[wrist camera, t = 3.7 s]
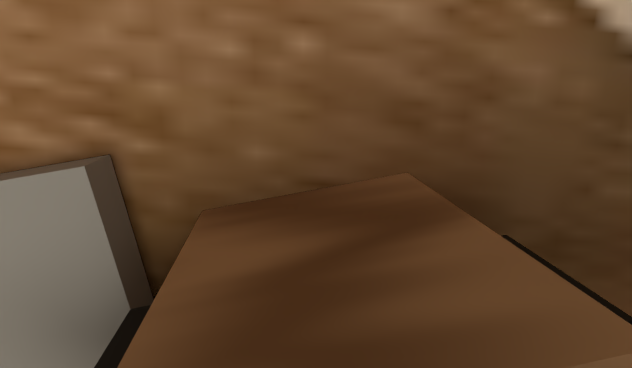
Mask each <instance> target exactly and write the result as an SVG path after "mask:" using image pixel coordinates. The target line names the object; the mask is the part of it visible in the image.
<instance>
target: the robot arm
mask: <svg viewBox="0 0 632 368" xmlns="http://www.w3.org/2000/svg"><path fill="white" fill-rule="evenodd" d="M502 237H503V238H504V239H506V240H507V241H509V242H510V243H512V244H513V245H515V246H516V247H518V248H519V249H521V250H522V251H524V252H525V253H527V254H528V255H529V256H531V257H532V258H534V259H535V260H537V261H538V262H540V263H541V264H543V265H544V266H546V267H547V268H549V269H550V270H552V271H553V272H555V273H556V274H557V275H559V276H560V277H562V278H563V279H565V280H566V281H568V282H569V283H571V284H572V285H574V286H575V287H577V288H578V289H580V290H581V291H582V292H584V293H585V294H587V295H588V296H590V297H591V298H593V299H594V300H596V301H597V302H599V303H600V304H602V305H603V306H605V307H606V308H607V309H609V310H610V311H612V312H613V313H615V314H616V315H618V316H619V317H621V318H622V319H624V320H625V321H627V322H628V323H630V324H631V325H632V317H631V316H629V315H628V314H626V313H625V312H623V311H622V310H620V309H619V308H617V307H616V306H614V305H612V304H611V303H609V302H608V301H606V300H605V299H603V298H602V297H600V296H599V295H597V294H596V293H594V292H593V291H591V290H590V289H588V288H587V287H585V286H584V285H582V284H581V283H579V282H577V281H576V280H574V279H573V278H571V277H570V276H568V275H567V274H565V273H564V272H562V271H561V270H559V269H558V268H556V267H555V266H553V265H552V264H550V263H549V262H547V261H545V260H544V259H542V258H541V257H539V256H538V255H536V254H535V253H533V252H532V251H530V250H529V249H527V248H526V247H524V246H523V245H521V244H520V243H518V242H517V241H515V240H513V239H512V238H510V237H509V236H507V235H503V236H502ZM150 306H151V305H148V306H143V307H138V308H133V309H131V310H130V311H129V312H128V314H127V315H126V317H125V319H124V320H123V322H122V323H121V325H120V327H119V328H118V330H117V331H116V333H115V335H114V336H113V338H112V340H111V341H110V343H109V344H108V346H107V348H106V349H105V351H104V352H103V354H102V356H101V357H100V359H99V360H98V362H97V364H96V365H95V367H94V368H117V367H118V365H119V364H120V362H121V360H122V358H123V356H124V354H125V353H126V351H127V349H128V347H129V345H130V343H131V341H132V340H133V338H134V336H135V334H136V332H137V330H138V329H139V327H140V325H141V323H142V321H143V319H144V318H145V316H146V314H147V312H148V310H149V308H150Z"/></svg>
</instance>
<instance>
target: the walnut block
mask: <svg viewBox="0 0 632 368" xmlns="http://www.w3.org/2000/svg"><path fill="white" fill-rule="evenodd" d="M117 368H632V325H631V324H630V323H628V322H627V321H625V320H624V319H622V318H621V317H619V316H618V315H616V314H615V313H613V312H612V311H610V310H609V309H607V308H606V307H605V306H603V305H602V304H600V303H599V302H597V301H596V300H594V299H593V298H591V297H590V296H588V295H587V294H585V293H584V292H582V291H581V290H580V289H578V288H577V287H575V286H574V285H572V284H571V283H569V282H568V281H566V280H565V279H563V278H562V277H560V276H559V275H557V274H556V273H555V272H553V271H552V270H550V269H549V268H547V267H546V266H544V265H543V264H541V263H540V262H538V261H537V260H535V259H534V258H532V257H531V256H529V255H528V254H527V253H525V252H524V251H522V250H521V249H519V248H518V247H516V246H515V245H513V244H512V243H510V242H509V241H507V240H506V239H504V238H503V237H502V236H500V235H499V234H497V233H496V232H494V231H493V230H491V229H490V228H488V227H487V226H485V225H484V224H482V223H481V222H479V221H478V220H476V219H475V218H474V217H472V216H471V215H469V214H468V213H466V212H465V211H463V210H462V209H460V208H459V207H457V206H456V205H454V204H453V203H451V202H450V201H449V200H447V199H446V198H444V197H443V196H441V195H440V194H438V193H437V192H435V191H434V190H432V189H431V188H429V187H428V186H426V185H425V184H424V183H422V182H421V181H419V180H418V179H416V178H415V177H413V176H412V175H410V174H409V173H402V174H397V175H392V176H386V177H381V178H375V179H370V180H365V181H359V182H354V183H348V184H343V185H338V186H332V187H327V188H321V189H316V190H311V191H305V192H300V193H295V194H289V195H284V196H278V197H273V198H268V199H262V200H257V201H251V202H246V203H241V204H235V205H230V206H225V207H219V208H214V209H208V210H203V211H202V212H201V214H200V216H199V218H198V220H197V222H196V224H195V225H194V227H193V229H192V231H191V233H190V235H189V236H188V238H187V240H186V242H185V244H184V246H183V247H182V249H181V251H180V253H179V255H178V257H177V259H176V260H175V262H174V264H173V266H172V268H171V270H170V271H169V273H168V275H167V277H166V279H165V281H164V283H163V284H162V286H161V288H160V290H159V292H158V294H157V295H156V297H155V299H154V301H153V303H152V305H151V306H150V308H149V310H148V312H147V314H146V316H145V318H144V319H143V321H142V323H141V325H140V327H139V329H138V330H137V332H136V334H135V336H134V338H133V340H132V341H131V343H130V345H129V347H128V349H127V351H126V353H125V354H124V356H123V358H122V360H121V362H120V364H119V365H118V367H117Z"/></svg>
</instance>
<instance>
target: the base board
mask: <svg viewBox="0 0 632 368" xmlns="http://www.w3.org/2000/svg"><path fill="white" fill-rule="evenodd" d="M153 301H154V300H153V296H152V293H151V290H150V286H149V283H148V280H147V276H146V273H145V270H144V266H143V263H142V260H141V256H140V253H139V250H138V247H137V243H136V240H135V237H134V233H133V230H132V227H131V223H130V220H129V217H128V213H127V210H126V207H125V204H124V200H123V197H122V194H121V190H120V187H119V184H118V180H117V177H116V174H115V170H114V167H113V164H112V160H111V157H110V155H105V156H99V157H94V158H88V159H82V160H76V161H71V162H65V163H59V164H53V165H48V166H42V167H36V168H30V169H25V170H19V171H13V172H7V173H2V174H0V368H94V367H95V365H96V364H97V362H98V360H99V359H100V357H101V356H102V354H103V352H104V351H105V349H106V348H107V346H108V344H109V343H110V341H111V340H112V338H113V336H114V335H115V333H116V331H117V330H118V328H119V327H120V325H121V323H122V322H123V320H124V319H125V317H126V315H127V314H128V312H129V311H130V310H131V309H133V308H138V307H143V306H148V305H152V303H153Z"/></svg>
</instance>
